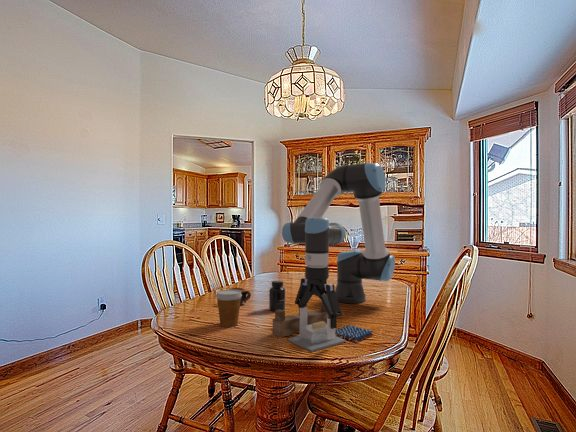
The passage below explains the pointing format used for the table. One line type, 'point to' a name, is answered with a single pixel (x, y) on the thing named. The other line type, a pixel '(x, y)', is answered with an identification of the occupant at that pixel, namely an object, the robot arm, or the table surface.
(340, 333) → the woven mat
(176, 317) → the table surface
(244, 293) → the pottery mug
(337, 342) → the pad
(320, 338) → the light grey block
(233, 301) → the disposable coffee cup
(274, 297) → the supplement bottle
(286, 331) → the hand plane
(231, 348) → the table surface
